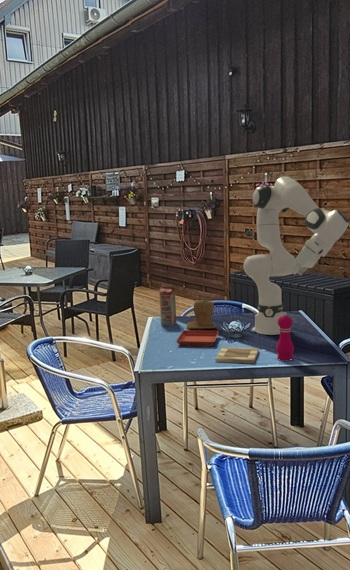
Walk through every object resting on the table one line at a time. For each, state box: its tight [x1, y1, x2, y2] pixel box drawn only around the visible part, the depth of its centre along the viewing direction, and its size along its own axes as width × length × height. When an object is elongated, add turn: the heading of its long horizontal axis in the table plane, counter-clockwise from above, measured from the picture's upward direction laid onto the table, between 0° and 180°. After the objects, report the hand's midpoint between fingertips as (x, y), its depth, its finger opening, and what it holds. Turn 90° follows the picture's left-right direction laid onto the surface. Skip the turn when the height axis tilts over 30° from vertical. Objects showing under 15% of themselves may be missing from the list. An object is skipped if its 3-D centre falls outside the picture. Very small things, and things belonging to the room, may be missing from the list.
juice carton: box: [159, 283, 177, 326], centre depth 278 cm, size 7×7×22 cm
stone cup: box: [186, 299, 217, 330], centre depth 267 cm, size 15×12×15 cm
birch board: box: [215, 346, 259, 364], centre depth 219 cm, size 16×16×2 cm
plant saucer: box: [175, 329, 220, 347], centre depth 244 cm, size 18×18×3 cm
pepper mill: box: [275, 311, 295, 361], centre depth 212 cm, size 7×7×20 cm
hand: (295, 273), depth 209 cm, fingers open, 8 cm apart
